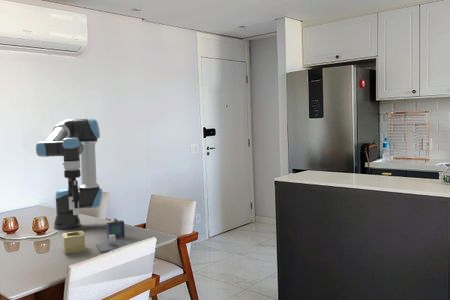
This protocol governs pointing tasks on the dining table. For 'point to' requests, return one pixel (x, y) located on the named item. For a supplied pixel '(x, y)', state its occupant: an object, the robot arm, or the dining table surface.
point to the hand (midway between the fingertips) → (74, 212)
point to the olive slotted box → (73, 242)
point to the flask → (115, 228)
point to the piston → (110, 244)
